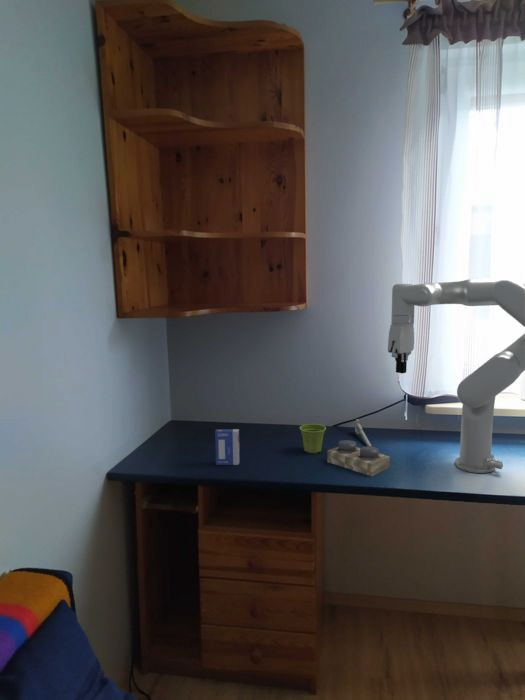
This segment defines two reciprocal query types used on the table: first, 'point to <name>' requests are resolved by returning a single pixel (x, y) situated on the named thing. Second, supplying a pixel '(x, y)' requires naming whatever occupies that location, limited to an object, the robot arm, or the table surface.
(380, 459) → the mount
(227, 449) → the blue upright box
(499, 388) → the robot arm
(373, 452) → the knob near
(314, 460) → the table surface
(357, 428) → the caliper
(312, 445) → the plant pot
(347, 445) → the knob far
